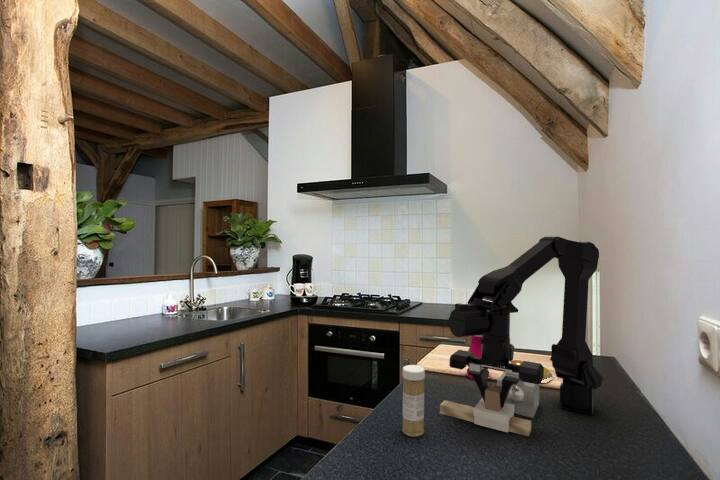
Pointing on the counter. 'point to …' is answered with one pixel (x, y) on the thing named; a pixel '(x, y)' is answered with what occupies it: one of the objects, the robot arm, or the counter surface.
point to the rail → (467, 414)
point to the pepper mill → (476, 350)
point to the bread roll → (546, 373)
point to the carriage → (493, 410)
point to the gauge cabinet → (522, 397)
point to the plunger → (517, 363)
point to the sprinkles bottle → (413, 400)
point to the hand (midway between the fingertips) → (494, 405)
